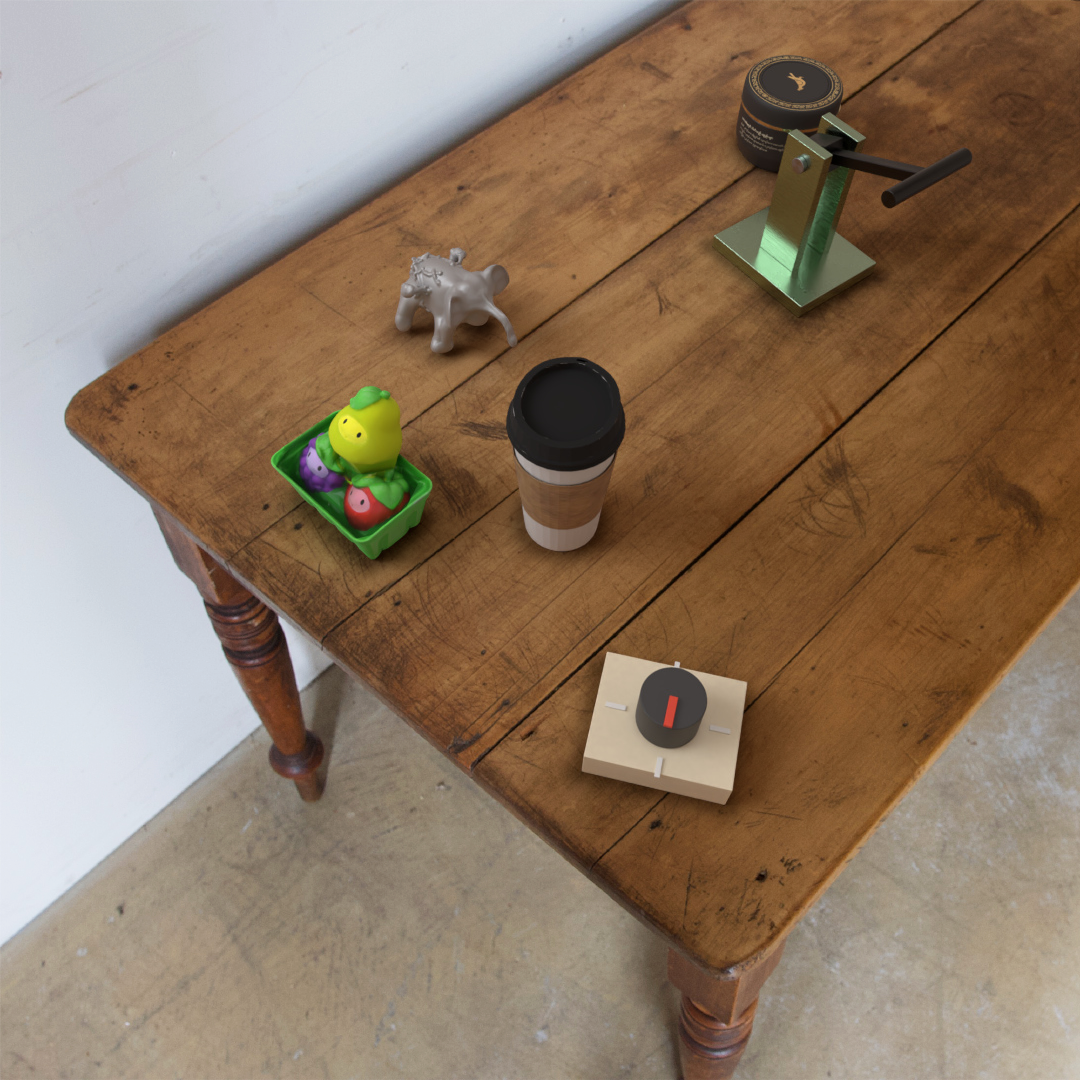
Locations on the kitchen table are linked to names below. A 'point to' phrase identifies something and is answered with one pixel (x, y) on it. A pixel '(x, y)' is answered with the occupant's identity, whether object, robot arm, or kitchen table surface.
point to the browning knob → (670, 707)
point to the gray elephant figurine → (452, 296)
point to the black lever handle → (893, 168)
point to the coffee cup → (564, 448)
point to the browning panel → (678, 770)
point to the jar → (783, 105)
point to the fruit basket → (358, 472)
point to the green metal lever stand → (801, 226)
